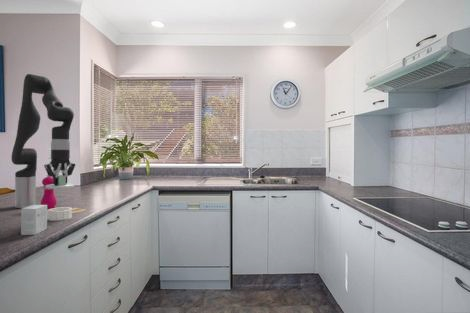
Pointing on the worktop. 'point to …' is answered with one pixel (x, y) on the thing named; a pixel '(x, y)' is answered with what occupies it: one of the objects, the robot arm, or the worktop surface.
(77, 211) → the plate
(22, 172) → the robot arm
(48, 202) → the pepper mill
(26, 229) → the small box
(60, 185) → the lid
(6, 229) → the worktop surface
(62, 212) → the bowl
